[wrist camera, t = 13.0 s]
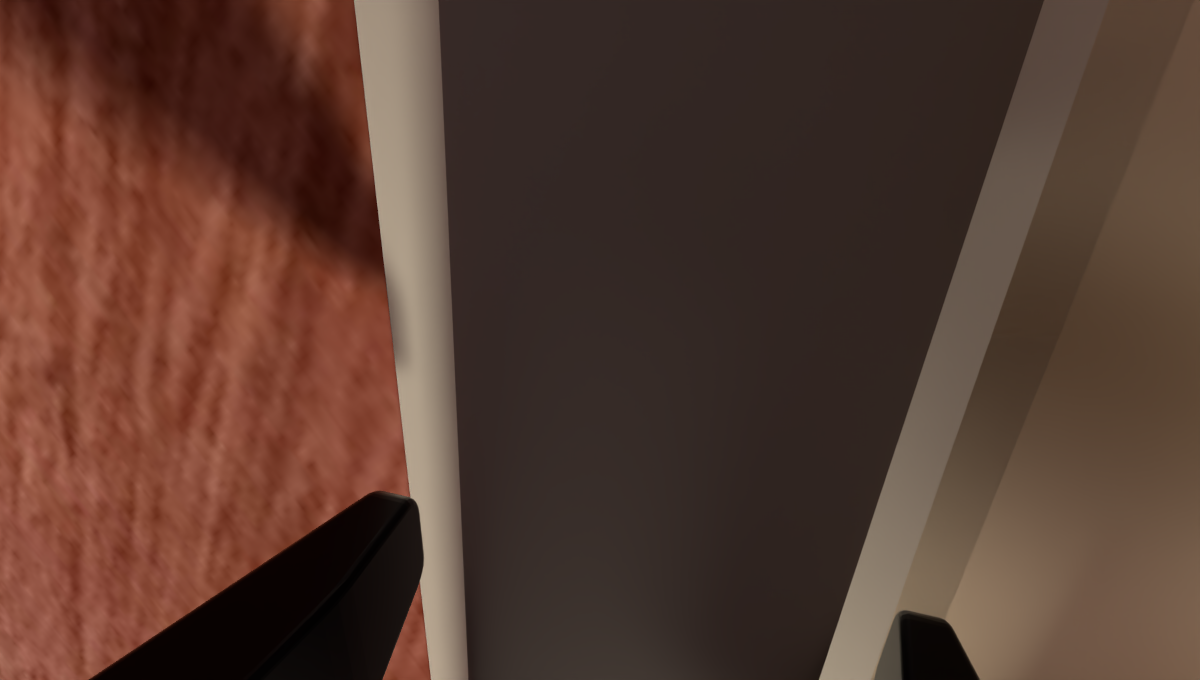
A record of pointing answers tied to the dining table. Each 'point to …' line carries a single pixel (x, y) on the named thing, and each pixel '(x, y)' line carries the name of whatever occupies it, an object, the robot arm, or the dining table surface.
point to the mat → (970, 311)
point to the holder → (1092, 398)
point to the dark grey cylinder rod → (696, 309)
